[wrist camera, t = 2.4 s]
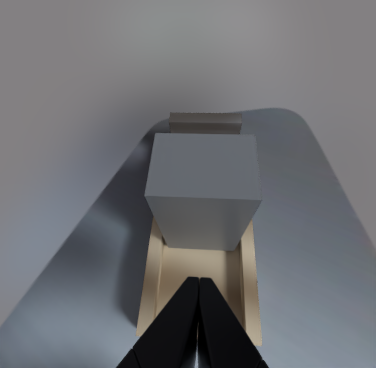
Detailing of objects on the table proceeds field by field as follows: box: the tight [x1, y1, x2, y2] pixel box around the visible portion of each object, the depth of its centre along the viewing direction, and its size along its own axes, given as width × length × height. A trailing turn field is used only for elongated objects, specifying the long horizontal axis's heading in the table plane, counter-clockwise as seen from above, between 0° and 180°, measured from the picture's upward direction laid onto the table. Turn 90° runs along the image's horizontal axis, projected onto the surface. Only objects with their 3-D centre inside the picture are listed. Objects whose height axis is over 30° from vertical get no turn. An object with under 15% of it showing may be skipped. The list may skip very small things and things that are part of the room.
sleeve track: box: [136, 113, 262, 346], centre depth 20 cm, size 18×9×6 cm, turn 176°
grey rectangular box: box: [144, 133, 262, 251], centre depth 16 cm, size 4×6×10 cm
